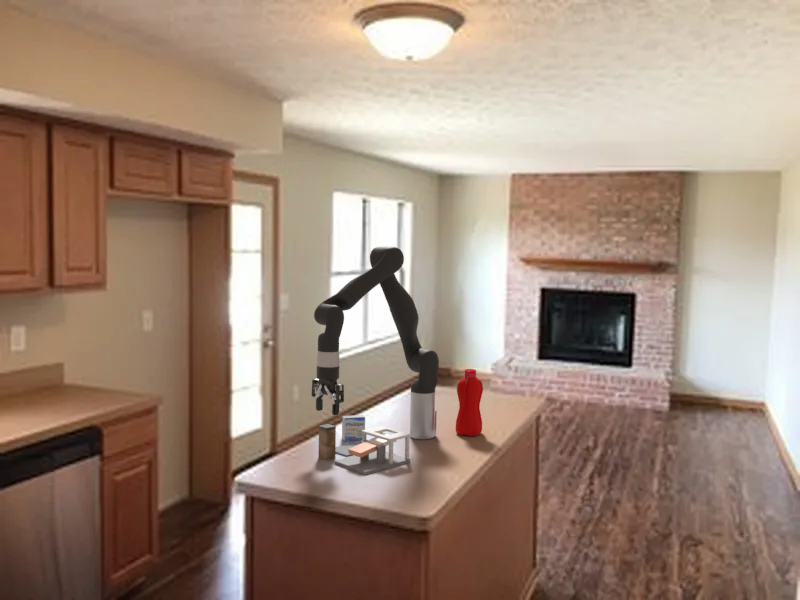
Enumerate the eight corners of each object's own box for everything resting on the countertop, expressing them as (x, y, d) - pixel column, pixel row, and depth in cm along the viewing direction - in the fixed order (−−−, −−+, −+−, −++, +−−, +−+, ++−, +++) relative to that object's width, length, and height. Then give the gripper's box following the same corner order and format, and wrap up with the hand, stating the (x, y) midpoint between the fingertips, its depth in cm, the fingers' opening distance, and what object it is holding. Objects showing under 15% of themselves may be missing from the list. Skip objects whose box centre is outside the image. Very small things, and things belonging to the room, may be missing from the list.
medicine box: (343, 441, 260) (344, 418, 260) (341, 438, 264) (342, 415, 264) (365, 440, 262) (365, 417, 262) (362, 437, 267) (362, 414, 266)
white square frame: (379, 452, 247) (379, 425, 247) (410, 462, 237) (410, 434, 236) (334, 463, 233) (334, 435, 233) (365, 474, 223) (365, 445, 222)
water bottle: (451, 435, 271) (452, 370, 269) (462, 429, 281) (463, 366, 279) (473, 439, 267) (475, 372, 265) (484, 432, 276) (486, 368, 274)
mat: (349, 445, 256) (349, 443, 256) (368, 451, 249) (368, 449, 248) (327, 450, 249) (327, 448, 249) (346, 456, 242) (346, 455, 242)
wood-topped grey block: (327, 455, 242) (328, 423, 241) (335, 458, 239) (335, 426, 239) (318, 458, 240) (318, 425, 239) (325, 460, 237) (326, 428, 236)
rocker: (384, 437, 242) (384, 433, 242) (396, 441, 238) (396, 436, 238) (348, 453, 232) (348, 449, 231) (361, 457, 227) (360, 453, 227)
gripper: (350, 366, 235) (349, 414, 236) (323, 360, 245) (322, 407, 246) (332, 368, 229) (331, 418, 231) (306, 362, 240) (305, 410, 241)
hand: (327, 412), depth 238 cm, fingers open, 8 cm apart
